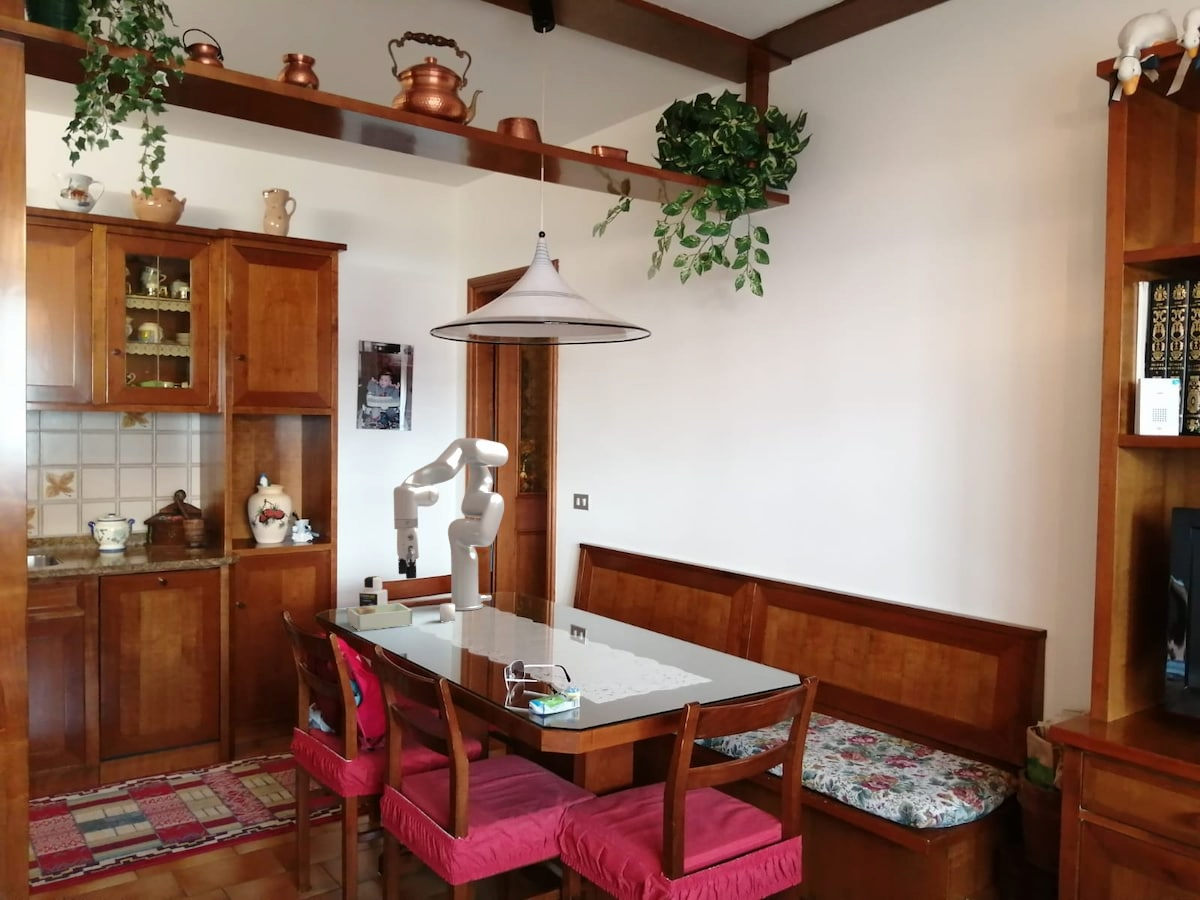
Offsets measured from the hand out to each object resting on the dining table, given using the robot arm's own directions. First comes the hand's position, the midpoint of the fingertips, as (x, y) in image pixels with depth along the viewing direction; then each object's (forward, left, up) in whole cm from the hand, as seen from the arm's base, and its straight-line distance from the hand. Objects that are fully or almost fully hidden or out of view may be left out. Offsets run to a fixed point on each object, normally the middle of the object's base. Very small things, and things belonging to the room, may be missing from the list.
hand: (407, 576), depth 300 cm
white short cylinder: (-12, +3, -16) cm, 20 cm away
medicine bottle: (+5, -26, -16) cm, 31 cm away
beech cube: (+13, -3, -15) cm, 20 cm away
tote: (+9, -3, -16) cm, 18 cm away
